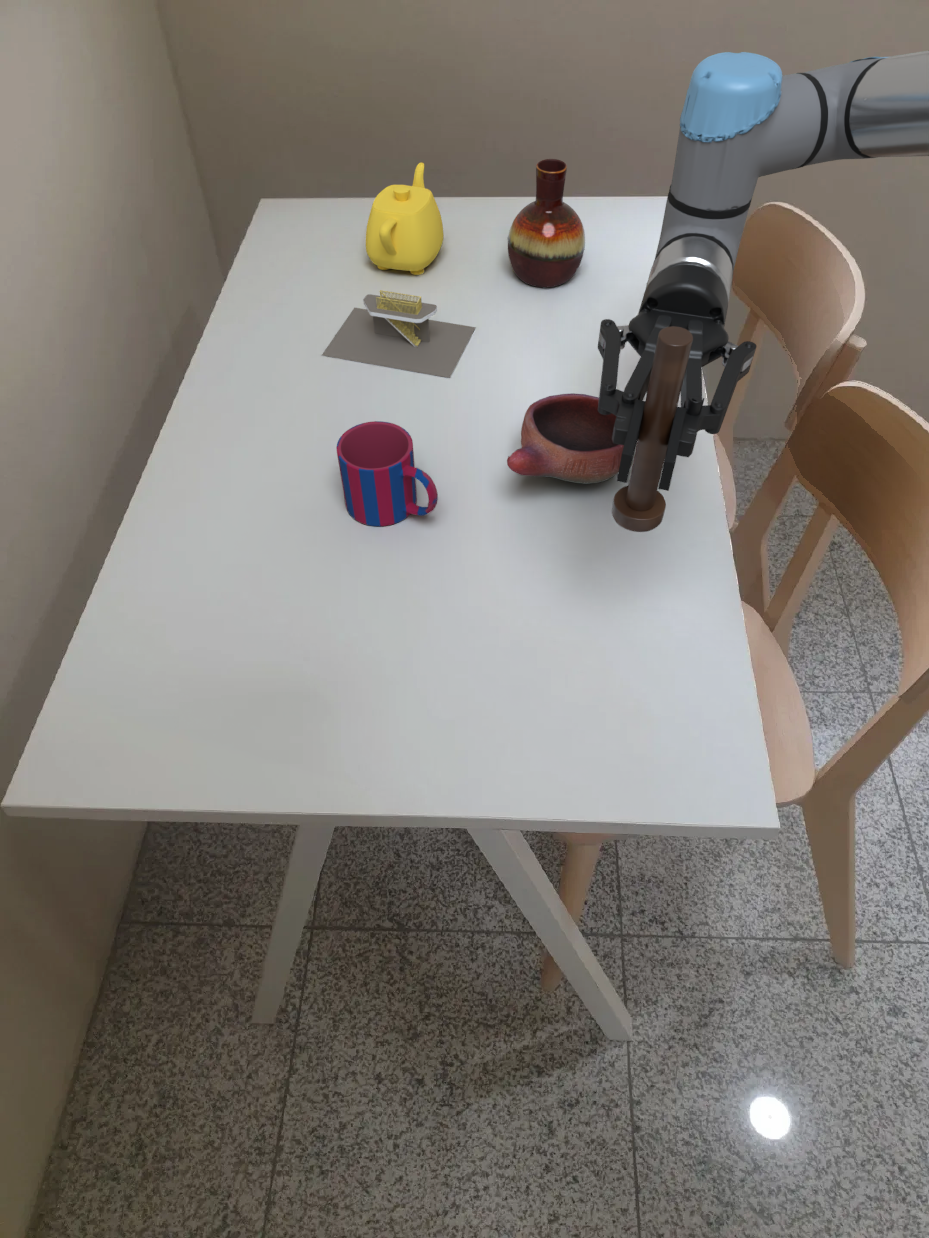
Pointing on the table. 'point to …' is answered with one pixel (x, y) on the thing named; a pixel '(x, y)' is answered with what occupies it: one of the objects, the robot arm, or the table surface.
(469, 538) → the table surface
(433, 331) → the platform
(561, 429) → the bowl
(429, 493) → the mug
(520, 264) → the vase
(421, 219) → the teapot
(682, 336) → the muddler
